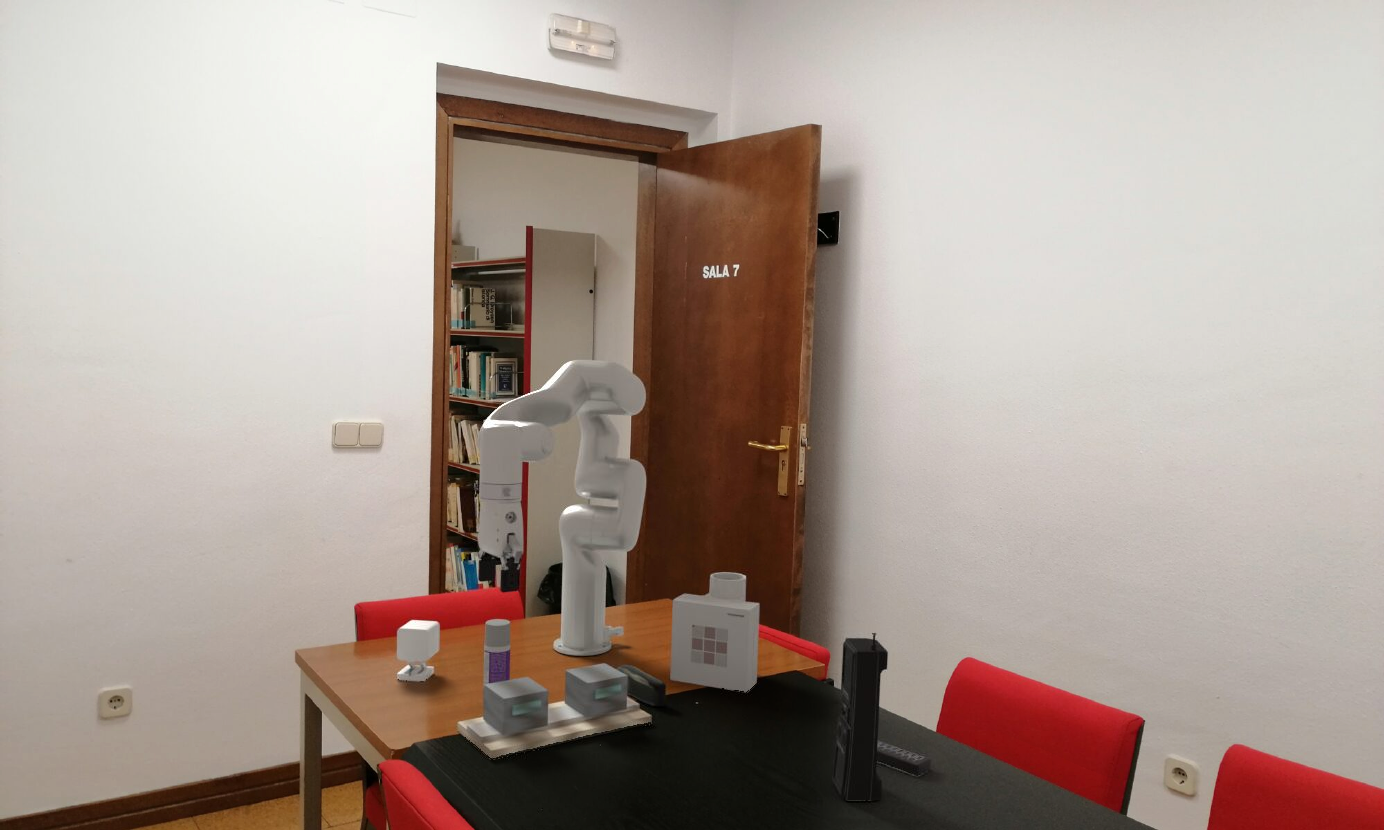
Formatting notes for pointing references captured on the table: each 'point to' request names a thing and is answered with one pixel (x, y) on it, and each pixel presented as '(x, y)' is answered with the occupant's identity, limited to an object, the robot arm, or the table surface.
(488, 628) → the container
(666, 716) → the table surface
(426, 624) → the security camera
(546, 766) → the table surface
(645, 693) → the dark grey rounded bar
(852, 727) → the portable radio
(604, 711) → the rail panel
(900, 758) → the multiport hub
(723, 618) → the white square bottle
